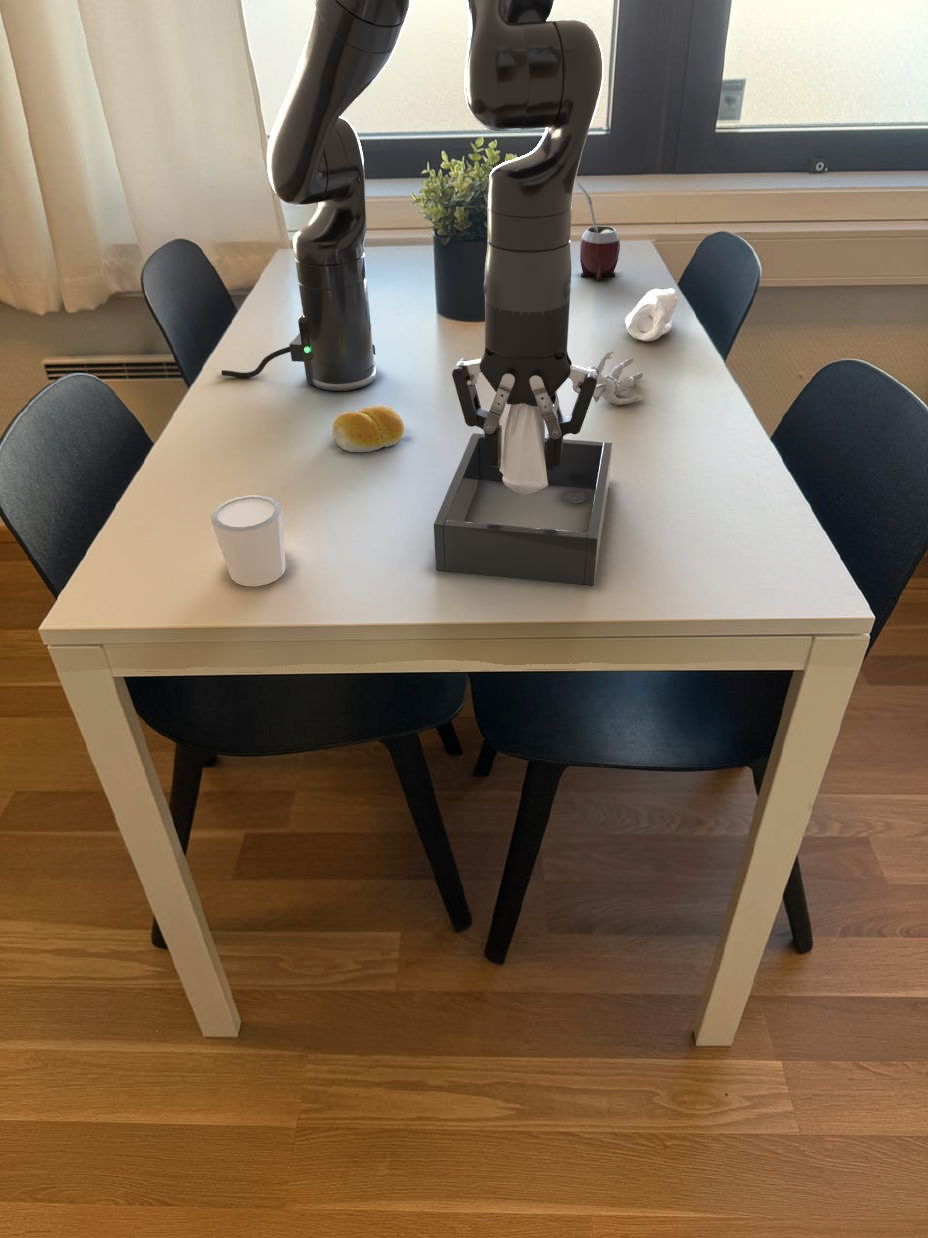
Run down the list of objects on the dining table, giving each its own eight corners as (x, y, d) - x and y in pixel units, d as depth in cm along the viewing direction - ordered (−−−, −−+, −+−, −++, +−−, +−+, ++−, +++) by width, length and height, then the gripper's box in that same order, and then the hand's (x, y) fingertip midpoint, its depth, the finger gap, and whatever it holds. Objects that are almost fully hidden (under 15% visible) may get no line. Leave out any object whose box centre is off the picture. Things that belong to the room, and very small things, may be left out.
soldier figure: (655, 392, 125) (636, 399, 114) (627, 412, 127) (606, 421, 117) (625, 346, 124) (603, 348, 114) (597, 367, 127) (573, 371, 116)
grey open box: (435, 570, 90) (433, 524, 87) (473, 474, 105) (472, 432, 102) (593, 585, 87) (597, 538, 84) (608, 485, 103) (612, 442, 99)
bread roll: (415, 441, 113) (414, 411, 110) (353, 460, 109) (350, 430, 106) (384, 417, 118) (382, 389, 116) (323, 435, 114) (319, 406, 112)
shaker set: (547, 503, 89) (557, 400, 82) (506, 505, 88) (512, 402, 81) (525, 446, 98) (531, 349, 91) (487, 448, 97) (491, 350, 90)
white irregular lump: (650, 314, 147) (685, 276, 141) (666, 367, 141) (704, 329, 135) (609, 297, 143) (643, 256, 137) (625, 350, 137) (661, 310, 131)
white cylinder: (228, 554, 93) (215, 496, 89) (294, 549, 94) (284, 491, 89) (219, 592, 88) (205, 533, 84) (289, 587, 88) (278, 528, 84)
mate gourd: (619, 281, 160) (626, 191, 151) (575, 282, 160) (580, 192, 151) (614, 268, 166) (621, 181, 157) (572, 269, 166) (576, 182, 157)
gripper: (612, 283, 80) (598, 453, 90) (456, 276, 82) (460, 442, 93) (606, 313, 74) (591, 490, 85) (438, 304, 76) (444, 478, 87)
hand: (522, 464), depth 89 cm, fingers closed on shaker set, 5 cm apart
